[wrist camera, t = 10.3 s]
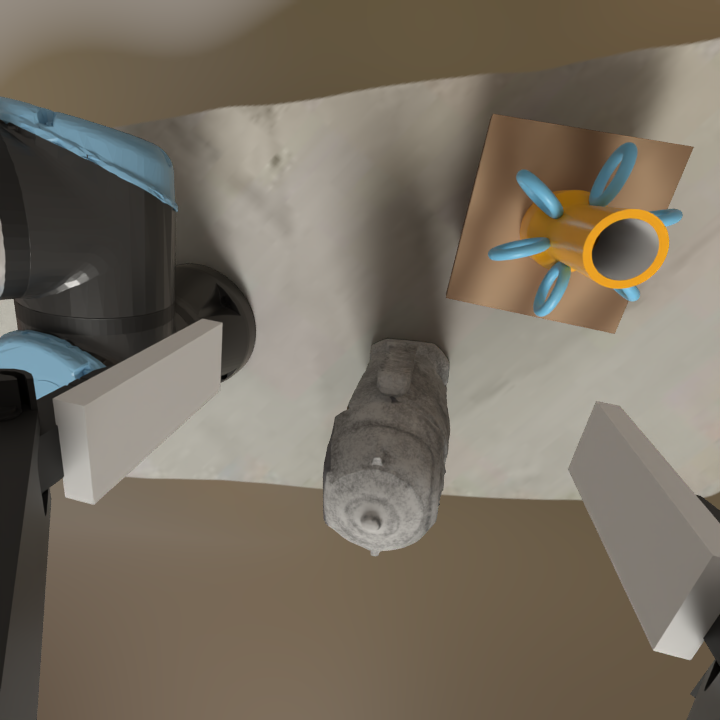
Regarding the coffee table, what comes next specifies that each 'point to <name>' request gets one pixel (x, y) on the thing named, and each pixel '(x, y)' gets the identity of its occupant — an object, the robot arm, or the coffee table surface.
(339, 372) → the coffee table surface
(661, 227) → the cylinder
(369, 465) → the figurine
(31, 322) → the robot arm
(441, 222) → the coffee table surface
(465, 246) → the small wooden table
